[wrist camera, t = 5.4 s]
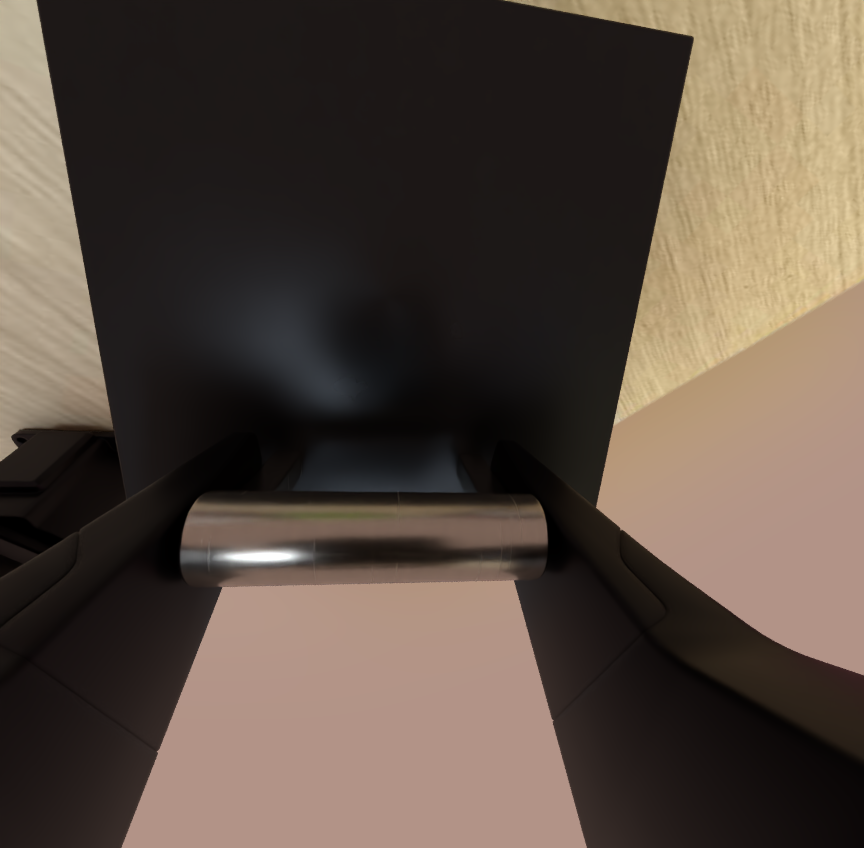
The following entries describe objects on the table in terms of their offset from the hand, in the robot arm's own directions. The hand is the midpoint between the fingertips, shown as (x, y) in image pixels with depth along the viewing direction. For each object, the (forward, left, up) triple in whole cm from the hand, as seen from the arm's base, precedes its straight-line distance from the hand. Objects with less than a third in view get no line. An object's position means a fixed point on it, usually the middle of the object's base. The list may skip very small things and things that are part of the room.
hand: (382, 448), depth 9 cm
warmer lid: (+3, 0, -3) cm, 4 cm away
